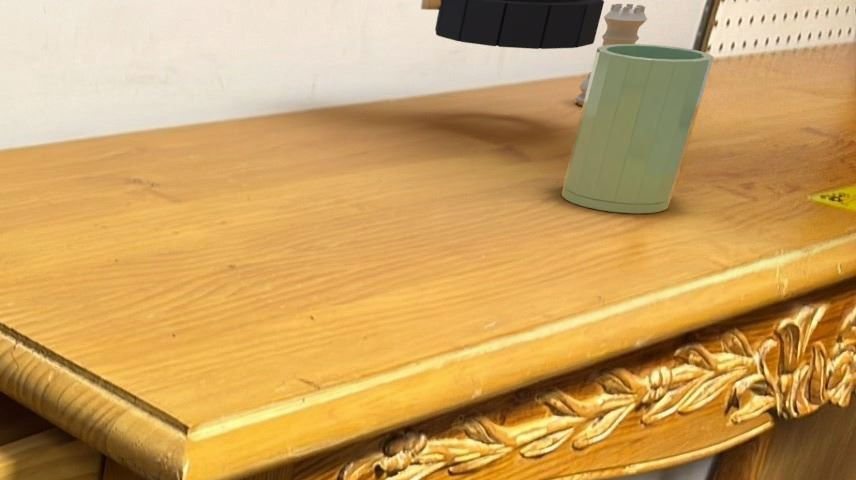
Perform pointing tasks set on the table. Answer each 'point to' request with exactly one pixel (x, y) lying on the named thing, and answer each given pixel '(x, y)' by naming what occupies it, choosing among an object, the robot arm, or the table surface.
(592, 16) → the ring
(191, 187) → the table surface
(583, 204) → the cup
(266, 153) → the table surface
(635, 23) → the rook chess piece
